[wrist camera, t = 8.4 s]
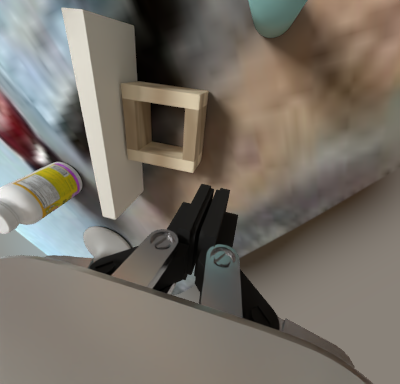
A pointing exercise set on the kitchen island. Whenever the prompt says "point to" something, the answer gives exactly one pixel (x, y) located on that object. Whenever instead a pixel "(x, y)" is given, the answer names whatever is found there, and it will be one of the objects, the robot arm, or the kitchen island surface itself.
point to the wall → (105, 102)
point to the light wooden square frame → (141, 124)
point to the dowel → (274, 15)
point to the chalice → (103, 242)
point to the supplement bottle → (37, 195)
